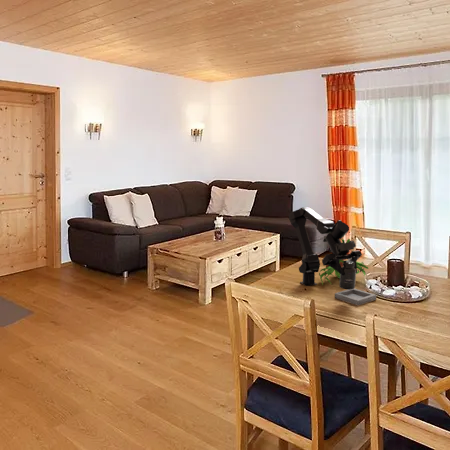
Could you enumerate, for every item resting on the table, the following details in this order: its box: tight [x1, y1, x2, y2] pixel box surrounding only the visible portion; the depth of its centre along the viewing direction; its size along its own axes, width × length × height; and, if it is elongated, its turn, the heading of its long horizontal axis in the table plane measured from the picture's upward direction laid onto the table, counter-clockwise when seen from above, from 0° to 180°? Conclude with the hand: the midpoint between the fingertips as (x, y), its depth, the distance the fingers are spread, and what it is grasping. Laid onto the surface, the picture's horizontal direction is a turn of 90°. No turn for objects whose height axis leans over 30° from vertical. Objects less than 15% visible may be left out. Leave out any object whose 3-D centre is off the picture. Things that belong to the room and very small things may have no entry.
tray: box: [334, 288, 377, 306], centre depth 206 cm, size 13×13×2 cm
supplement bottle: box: [339, 259, 357, 290], centre depth 200 cm, size 7×7×12 cm
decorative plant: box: [318, 238, 369, 285], centre depth 233 cm, size 26×25×30 cm
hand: (350, 274), depth 199 cm, fingers closed on supplement bottle, 7 cm apart
